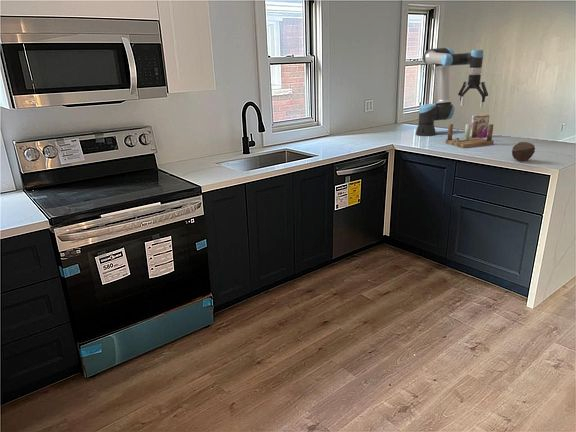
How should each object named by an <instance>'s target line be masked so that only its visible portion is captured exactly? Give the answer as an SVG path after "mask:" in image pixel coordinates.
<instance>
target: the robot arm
mask: <svg viewBox="0 0 576 432" xmlns="http://www.w3.org/2000/svg"><path fill="white" fill-rule="evenodd" d="M483 59H484V49H472V50H471V52H463V53H454V50H453V48H452V47H439V48H437V47H436V48H429V49H428V50H426V51H424V53H423V56H422V61H423V62H424V64H426V65H431V66H433V65H435V66H434V67H435V69H436V70H437V72H436V73H437V77H436V78H437V82H436V83H437V101H436V102H435V103H427V104H423V105H421V106H420V107H419V108H418V109H419V111H418V125H417V128H416V131H415V135H416V136H420V137H431V136H435V135H436V127H435V124H434V123H435V121H447V120H450V119H452V118H453V116H454V115H455V105H454V104H452V100H450V67H452V66H464V65H469V71H468V73H469V75H468V81H463V83H462V86H461V88H460V90H459V92H458V93H457V96H460V98H459V100H460V107H463V106H464V104H465V96H466V95H465V94H466V93H468V91H469V90H472V89H473V90H475V89H476V90H477V91H478V93H479V94H480V103H479V108H483V107H484V103H485V101H486V97H488V96H489V92H488V90H487V86H486V82H485V81H481V76H482V75H481V74H482V71H483V70H482V67H483ZM481 88H482V89H481Z"/></svg>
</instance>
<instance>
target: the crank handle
mask: <svg viewBox="0 0 576 432" xmlns="http://www.w3.org/2000/svg"><path fill="white" fill-rule="evenodd" d="M470 130H471V123H466V124H465V128H464V137H463V138H464V139H459V138H460V137H454V139H455V140H454V141H455V142H460V141H469V137H470Z"/></svg>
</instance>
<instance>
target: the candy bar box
mask: <svg viewBox="0 0 576 432" xmlns="http://www.w3.org/2000/svg"><path fill="white" fill-rule="evenodd" d="M489 120H490V115H489V114H472V116H471V122H470V134H469V137H472V128H473V122H474V121H477V122H478V124H477V134H476V137H479V138H487V134H488V125H489Z"/></svg>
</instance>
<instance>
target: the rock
mask: <svg viewBox="0 0 576 432" xmlns="http://www.w3.org/2000/svg"><path fill="white" fill-rule="evenodd" d="M535 150H536V147H535V144H533V143H531V142H527V141H520V142H518V143H516V144H514V146H513V147H512V150H511V155H512V158H513V159H514V160H515V161H517V162H522V161H527V162H528V161H529V160H530V159H531V158H532V157H533V155H534V154H535V152H536V151H535Z"/></svg>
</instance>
